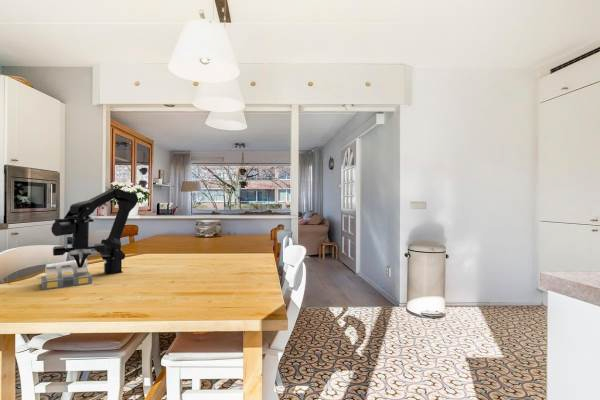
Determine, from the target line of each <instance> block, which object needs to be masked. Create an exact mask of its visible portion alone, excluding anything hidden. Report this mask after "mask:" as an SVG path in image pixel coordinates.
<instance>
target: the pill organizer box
mask: <svg viewBox="0 0 600 400" xmlns="http://www.w3.org/2000/svg"><path fill="white" fill-rule="evenodd" d="M40 279H41V280H40V281H41V282H40V286H41V290H42V291H45V290H51V289H59V288H60V289H61V288H67V287H69V288H70V287H73V286H74V287H75V286H82V285H84V286H85V285H90V284H93V275H92V274H91V273H90V272H89V270H88V271H86V272H76V273H73V277H65V278H62V274H58V278H57V279H49V280H46V275H42V276H40Z"/></svg>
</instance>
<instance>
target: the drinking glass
mask: <svg viewBox="0 0 600 400" xmlns="http://www.w3.org/2000/svg"><path fill="white" fill-rule="evenodd" d="M79 260H80V261H81V258H79ZM65 265H71V267H72V270H73V273H76V271H75V268H78V266H77V263H76V260H75V259H73V260H67V261H66V260H65V261H61V262H55V263H49V264H48V263H47V264H46V266H45V268H46V267H56V268H57V273H58V274H61V269H60V267H61V266H65ZM88 265H89V263H88V259H87V258H86V260H85V262H84V264H83V266H82V267H86V268H88V269H89V267H88Z"/></svg>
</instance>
